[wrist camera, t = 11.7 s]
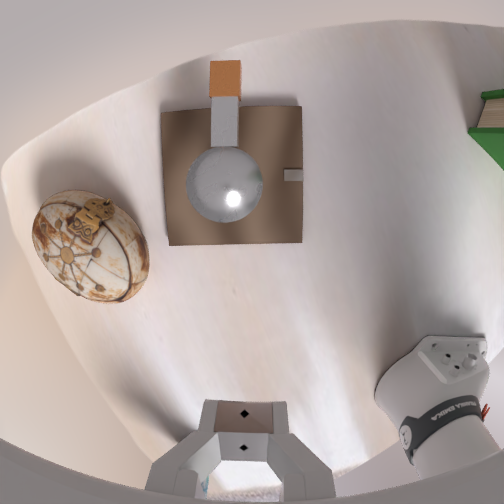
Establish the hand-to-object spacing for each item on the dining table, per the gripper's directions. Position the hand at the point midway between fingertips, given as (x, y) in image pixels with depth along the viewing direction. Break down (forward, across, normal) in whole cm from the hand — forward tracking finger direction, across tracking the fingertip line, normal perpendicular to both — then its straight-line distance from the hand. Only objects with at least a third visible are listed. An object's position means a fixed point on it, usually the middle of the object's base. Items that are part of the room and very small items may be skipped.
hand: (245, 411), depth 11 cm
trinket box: (+26, +20, +1) cm, 33 cm away
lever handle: (+20, +2, -10) cm, 22 cm away
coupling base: (+26, +2, -6) cm, 27 cm away
